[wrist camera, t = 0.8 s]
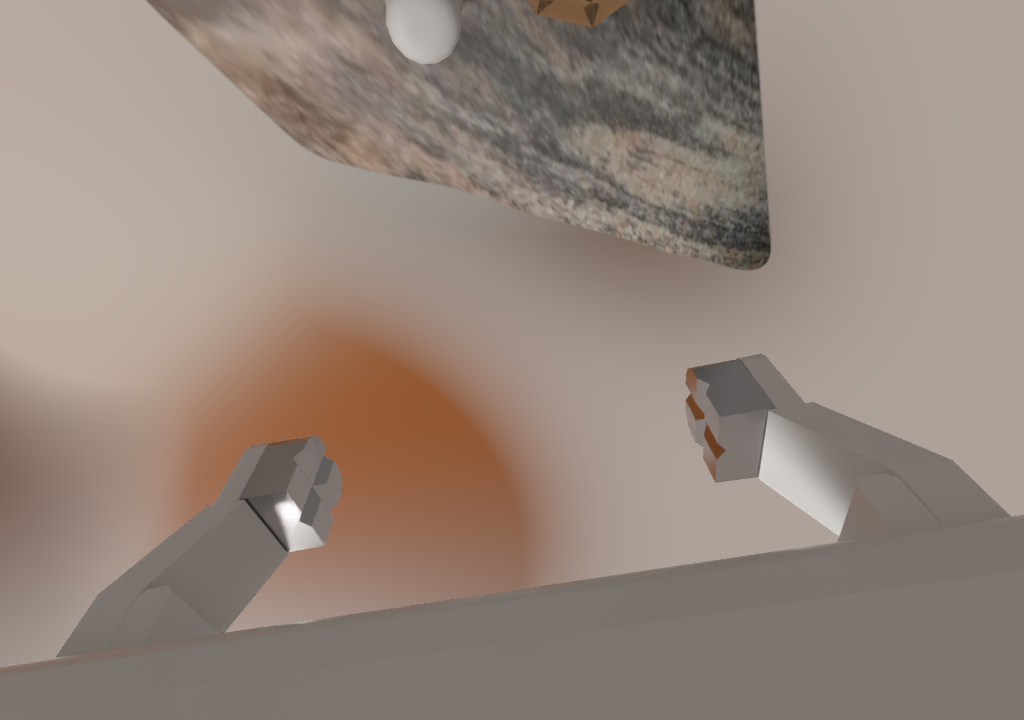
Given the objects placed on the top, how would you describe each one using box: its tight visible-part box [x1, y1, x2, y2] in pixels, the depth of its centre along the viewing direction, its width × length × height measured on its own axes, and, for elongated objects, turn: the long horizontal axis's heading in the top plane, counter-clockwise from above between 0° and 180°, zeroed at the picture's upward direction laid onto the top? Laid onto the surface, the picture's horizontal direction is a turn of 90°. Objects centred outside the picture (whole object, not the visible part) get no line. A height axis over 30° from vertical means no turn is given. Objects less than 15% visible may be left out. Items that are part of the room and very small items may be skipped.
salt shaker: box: [385, 0, 464, 64], centre depth 32 cm, size 6×6×13 cm
